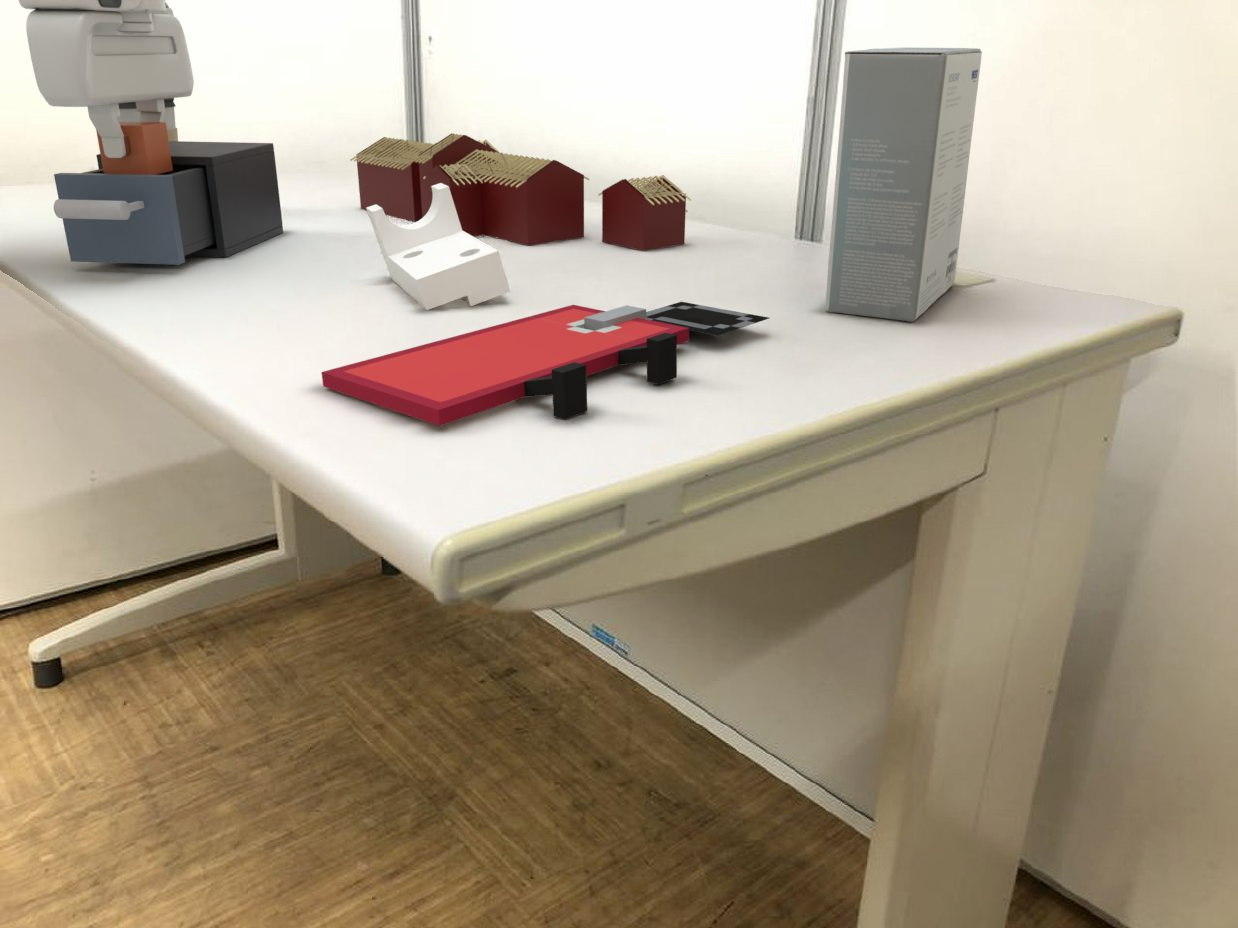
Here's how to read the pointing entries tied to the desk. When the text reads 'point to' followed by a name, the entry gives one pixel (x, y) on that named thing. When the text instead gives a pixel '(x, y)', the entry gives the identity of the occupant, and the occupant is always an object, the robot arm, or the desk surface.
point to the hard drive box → (900, 178)
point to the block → (141, 150)
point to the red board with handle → (530, 360)
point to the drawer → (135, 215)
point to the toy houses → (515, 194)
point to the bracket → (439, 256)
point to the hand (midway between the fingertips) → (135, 154)
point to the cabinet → (235, 191)
